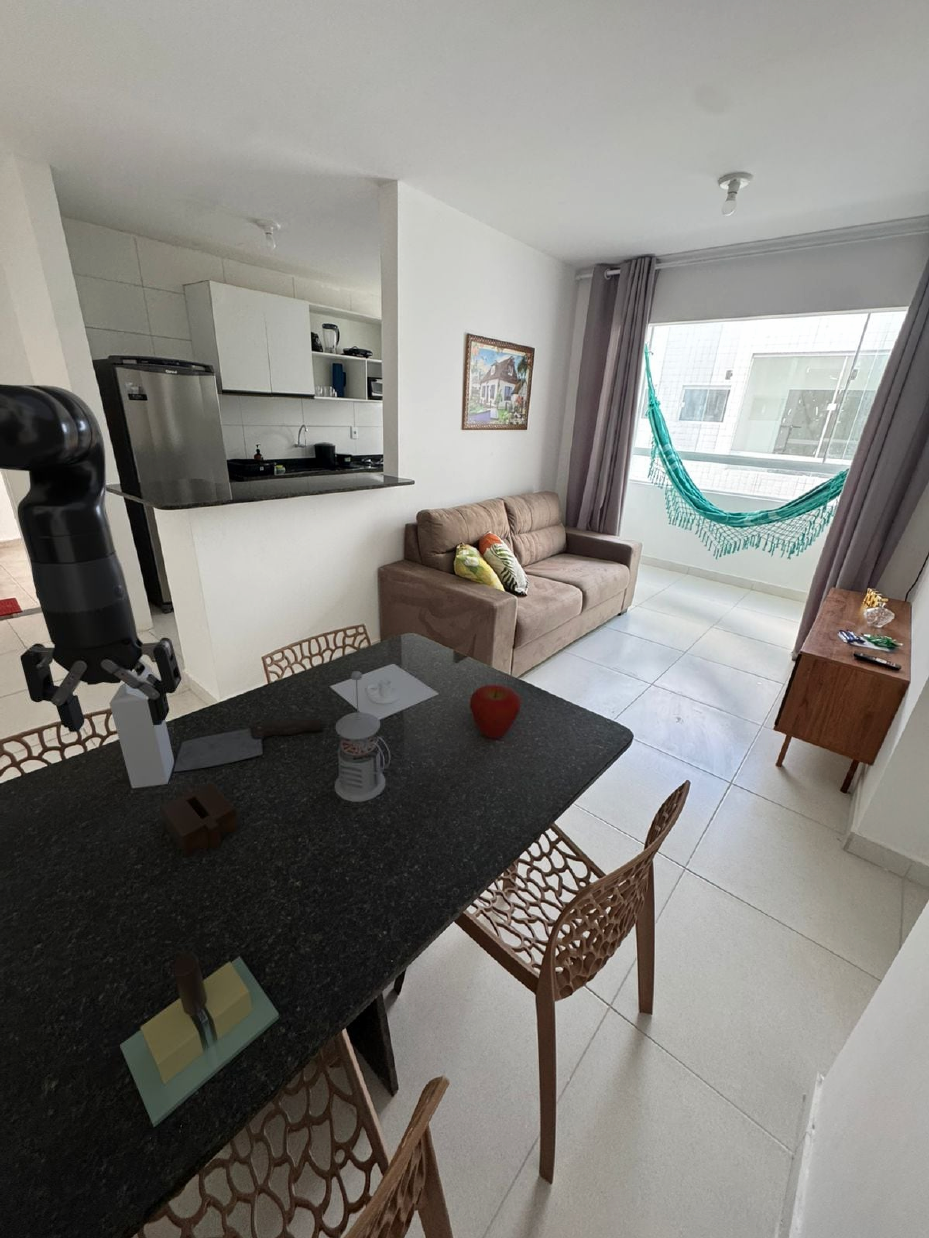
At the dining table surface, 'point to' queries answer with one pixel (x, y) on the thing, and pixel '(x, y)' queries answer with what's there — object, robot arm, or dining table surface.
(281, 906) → the dining table surface
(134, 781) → the milk
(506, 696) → the apple
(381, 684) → the teacup and saucer
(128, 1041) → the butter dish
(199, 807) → the knife block
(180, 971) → the wood-handled utensil
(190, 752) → the cleaver
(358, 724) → the french press
